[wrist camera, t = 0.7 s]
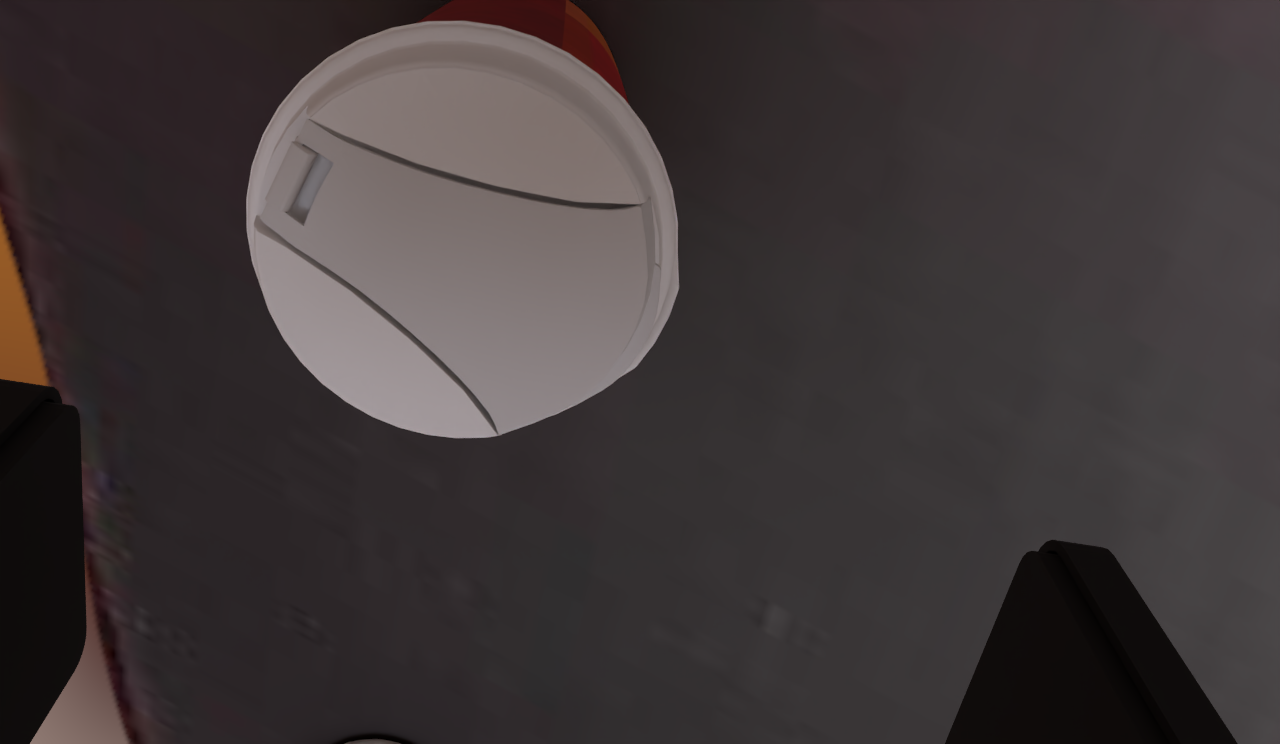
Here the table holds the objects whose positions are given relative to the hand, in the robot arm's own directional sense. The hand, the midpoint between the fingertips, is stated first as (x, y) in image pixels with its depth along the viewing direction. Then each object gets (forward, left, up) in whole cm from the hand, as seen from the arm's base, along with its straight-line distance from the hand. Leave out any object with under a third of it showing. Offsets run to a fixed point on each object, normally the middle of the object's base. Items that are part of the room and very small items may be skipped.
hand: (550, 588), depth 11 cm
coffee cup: (+1, -2, -26) cm, 26 cm away
